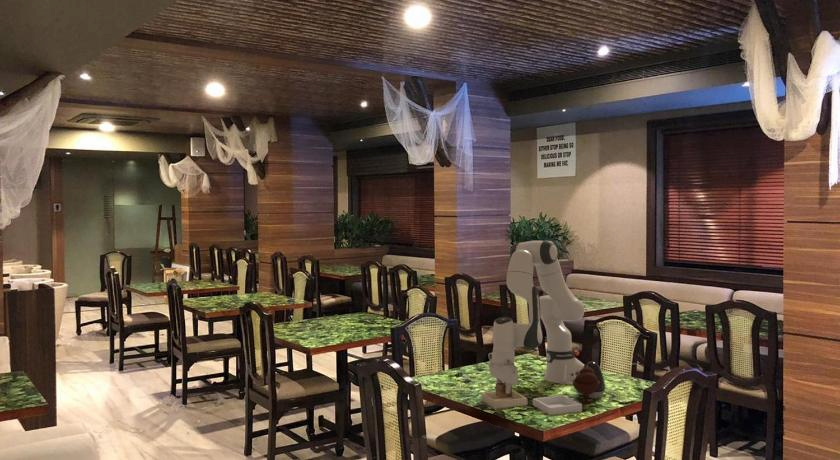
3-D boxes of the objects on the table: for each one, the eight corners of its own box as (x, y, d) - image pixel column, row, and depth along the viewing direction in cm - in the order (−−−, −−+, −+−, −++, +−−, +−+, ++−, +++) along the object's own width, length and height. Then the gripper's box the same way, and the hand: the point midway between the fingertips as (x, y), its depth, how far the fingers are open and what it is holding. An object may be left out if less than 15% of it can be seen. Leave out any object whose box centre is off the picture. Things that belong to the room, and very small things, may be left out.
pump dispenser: (574, 397, 289) (574, 361, 288) (590, 392, 295) (590, 357, 294) (594, 402, 281) (594, 365, 280) (610, 397, 287) (610, 361, 286)
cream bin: (512, 397, 288) (512, 389, 288) (527, 406, 275) (527, 398, 275) (481, 401, 284) (481, 392, 284) (495, 410, 271) (495, 401, 270)
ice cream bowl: (568, 401, 282) (568, 365, 282) (595, 400, 283) (594, 364, 283) (576, 408, 272) (576, 371, 271) (604, 407, 273) (603, 370, 272)
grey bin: (563, 403, 279) (563, 395, 279) (582, 413, 266) (582, 404, 266) (533, 407, 275) (532, 398, 274) (550, 416, 261) (550, 407, 261)
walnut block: (506, 394, 282) (506, 382, 282) (512, 397, 278) (511, 385, 278) (495, 395, 281) (495, 383, 281) (500, 398, 276) (500, 386, 276)
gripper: (522, 362, 270) (522, 396, 270) (500, 352, 289) (500, 384, 290) (507, 363, 268) (507, 398, 268) (486, 353, 287) (486, 385, 288)
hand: (503, 391), depth 279 cm, fingers closed on walnut block, 5 cm apart
